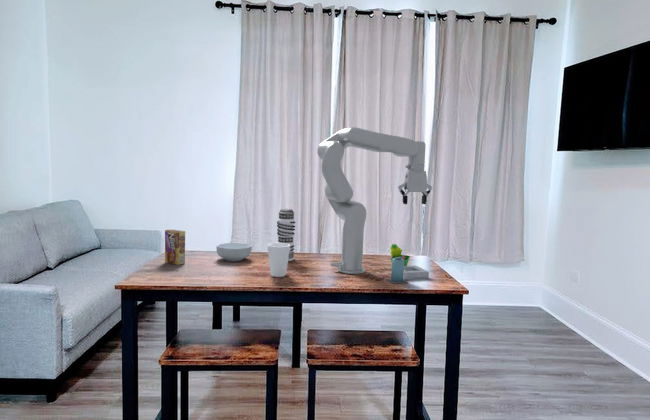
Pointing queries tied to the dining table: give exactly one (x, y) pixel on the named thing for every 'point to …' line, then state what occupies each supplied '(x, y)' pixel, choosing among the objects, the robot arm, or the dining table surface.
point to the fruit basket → (398, 254)
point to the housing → (415, 273)
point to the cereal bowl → (234, 251)
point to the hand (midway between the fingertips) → (414, 204)
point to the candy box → (175, 247)
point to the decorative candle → (286, 229)
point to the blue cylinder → (397, 269)
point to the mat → (396, 282)
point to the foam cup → (278, 258)
